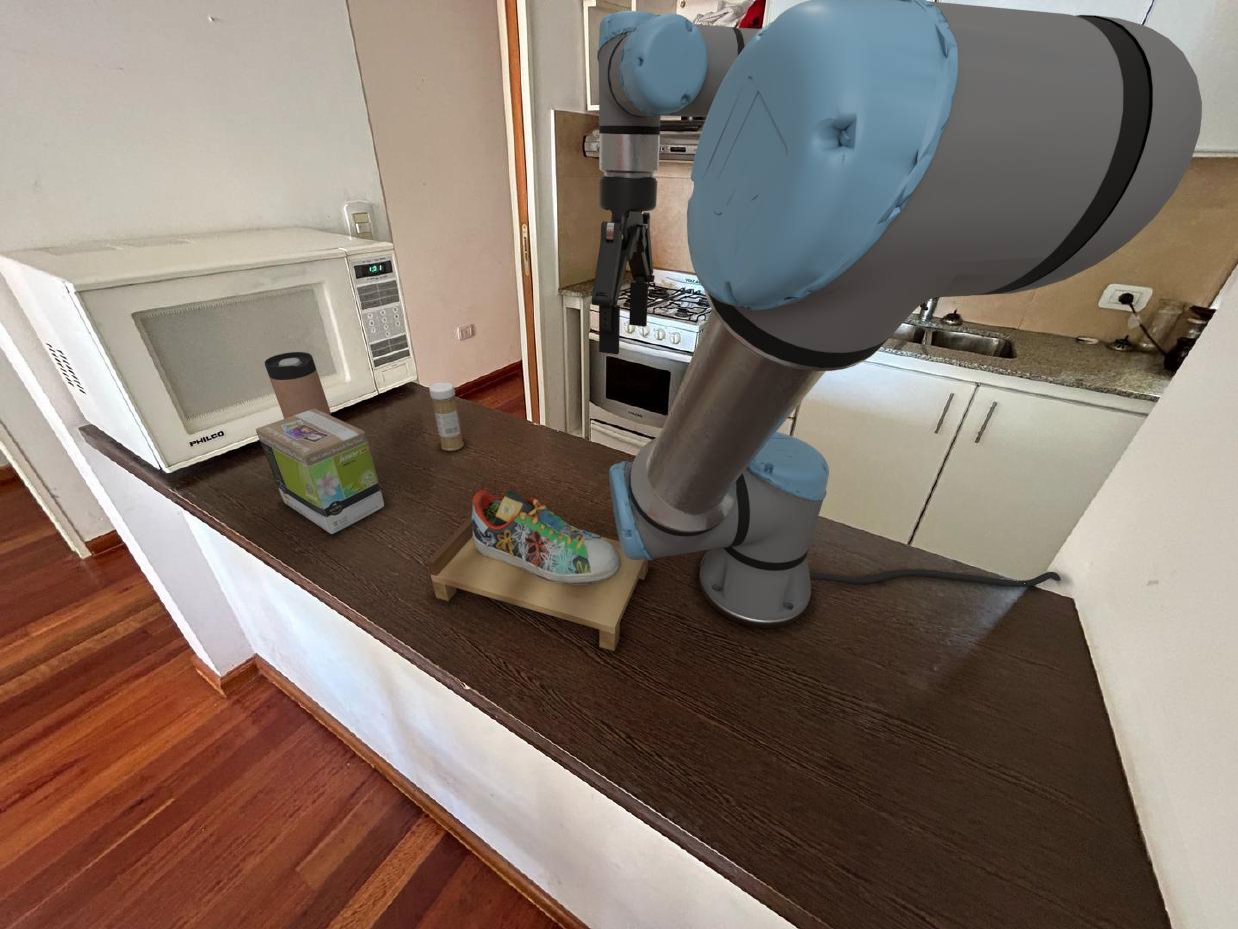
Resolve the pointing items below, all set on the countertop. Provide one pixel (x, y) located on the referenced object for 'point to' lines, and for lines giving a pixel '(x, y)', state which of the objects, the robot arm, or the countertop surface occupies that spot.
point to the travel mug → (296, 383)
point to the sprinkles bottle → (446, 415)
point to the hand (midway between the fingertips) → (624, 338)
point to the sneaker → (540, 541)
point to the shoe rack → (536, 585)
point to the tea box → (322, 468)
